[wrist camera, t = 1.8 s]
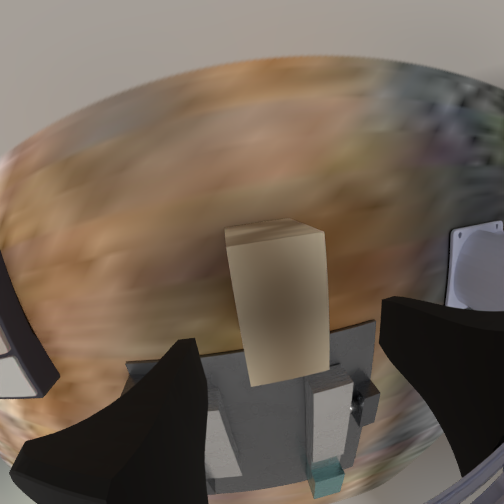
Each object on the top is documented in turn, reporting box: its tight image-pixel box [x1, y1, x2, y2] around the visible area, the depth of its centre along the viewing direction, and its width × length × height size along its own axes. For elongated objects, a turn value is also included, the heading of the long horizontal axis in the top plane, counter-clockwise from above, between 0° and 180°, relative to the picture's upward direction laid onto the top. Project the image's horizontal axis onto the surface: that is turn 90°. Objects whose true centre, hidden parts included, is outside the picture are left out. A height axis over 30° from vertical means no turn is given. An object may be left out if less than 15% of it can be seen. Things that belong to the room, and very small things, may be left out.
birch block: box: [224, 218, 330, 387], centre depth 14 cm, size 4×7×6 cm, turn 8°
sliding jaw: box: [304, 364, 354, 499], centre depth 19 cm, size 3×18×4 cm, turn 8°
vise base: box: [121, 320, 380, 495], centre depth 19 cm, size 19×22×4 cm
